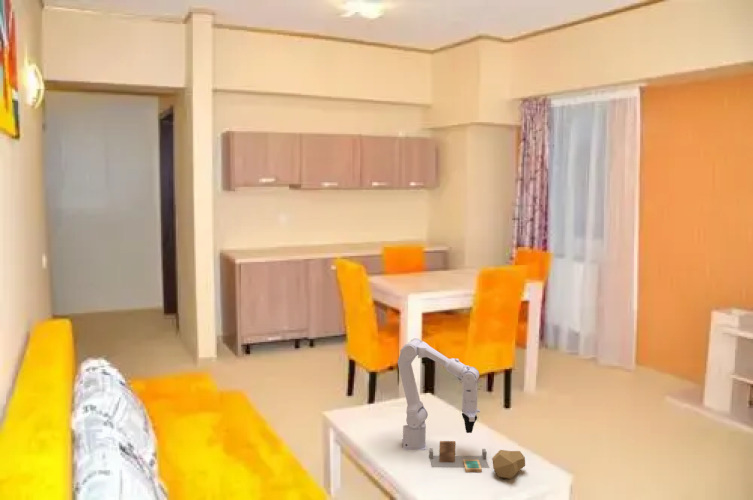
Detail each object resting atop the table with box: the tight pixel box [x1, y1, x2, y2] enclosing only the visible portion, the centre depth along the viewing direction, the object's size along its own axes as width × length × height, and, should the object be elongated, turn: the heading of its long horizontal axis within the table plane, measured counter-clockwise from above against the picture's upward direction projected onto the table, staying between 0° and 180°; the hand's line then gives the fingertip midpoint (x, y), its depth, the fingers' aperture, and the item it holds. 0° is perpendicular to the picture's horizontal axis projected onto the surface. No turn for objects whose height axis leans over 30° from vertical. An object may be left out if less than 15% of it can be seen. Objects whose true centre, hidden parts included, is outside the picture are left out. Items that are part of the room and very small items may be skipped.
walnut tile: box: [438, 440, 457, 462], centre depth 251 cm, size 6×1×8 cm, turn 90°
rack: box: [428, 447, 490, 469], centre depth 251 cm, size 22×10×4 cm, turn 90°
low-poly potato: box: [492, 449, 526, 480], centre depth 240 cm, size 15×11×12 cm
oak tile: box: [463, 459, 483, 473], centre depth 246 cm, size 6×1×8 cm
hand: (468, 432), depth 256 cm, fingers closed
